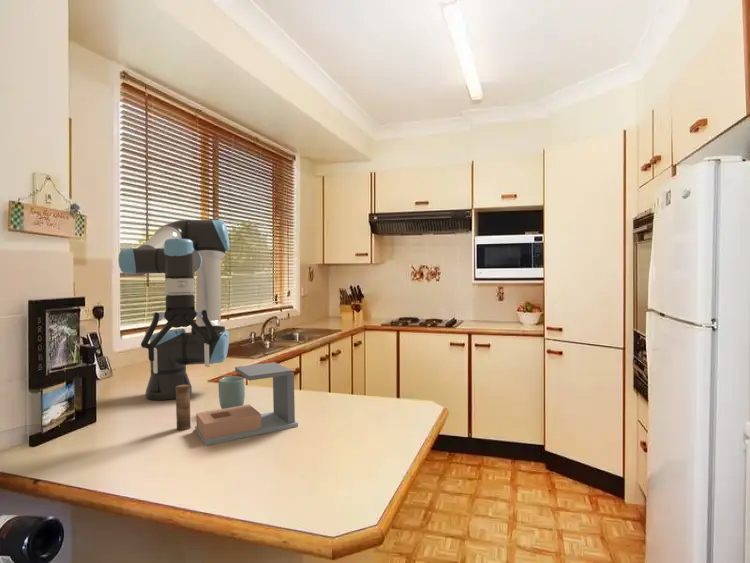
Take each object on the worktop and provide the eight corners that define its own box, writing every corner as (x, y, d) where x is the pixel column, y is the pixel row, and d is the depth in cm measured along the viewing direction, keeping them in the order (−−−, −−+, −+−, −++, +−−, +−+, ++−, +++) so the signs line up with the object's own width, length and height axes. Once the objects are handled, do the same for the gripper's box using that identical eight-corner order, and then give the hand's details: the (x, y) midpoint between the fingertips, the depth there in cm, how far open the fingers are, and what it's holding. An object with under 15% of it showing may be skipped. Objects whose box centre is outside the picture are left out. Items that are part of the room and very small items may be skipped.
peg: (175, 427, 132) (174, 385, 131) (189, 425, 134) (188, 384, 133) (178, 431, 129) (176, 388, 128) (191, 428, 131) (190, 386, 130)
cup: (237, 414, 143) (236, 382, 142) (214, 413, 144) (213, 381, 144) (249, 407, 150) (248, 376, 150) (227, 406, 152) (226, 375, 152)
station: (195, 429, 130) (193, 372, 130) (280, 413, 143) (279, 361, 143) (206, 445, 118) (204, 382, 118) (297, 426, 131) (296, 369, 131)
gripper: (131, 296, 120) (133, 377, 121) (228, 292, 133) (230, 366, 134) (128, 295, 127) (131, 372, 127) (222, 292, 140) (223, 362, 140)
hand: (182, 369), depth 131 cm, fingers open, 13 cm apart
